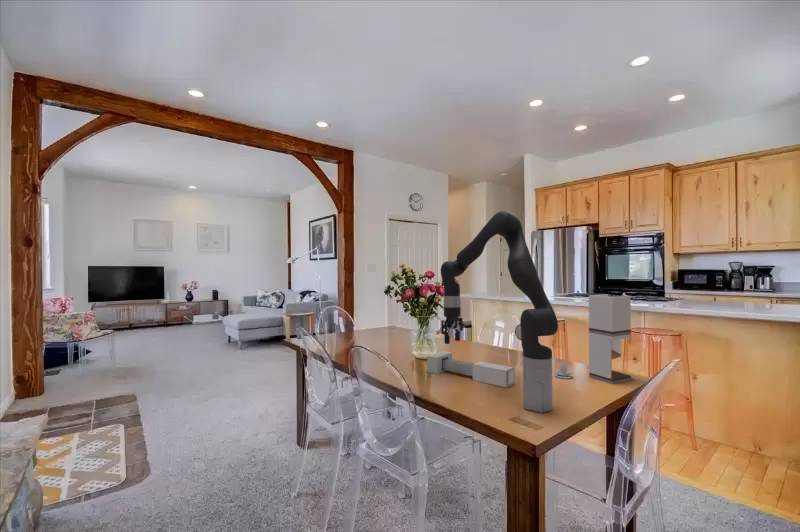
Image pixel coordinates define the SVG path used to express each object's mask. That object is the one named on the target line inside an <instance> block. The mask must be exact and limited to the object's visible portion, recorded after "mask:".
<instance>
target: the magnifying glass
mask: <svg viewBox="0 0 800 532" xmlns="http://www.w3.org/2000/svg"><path fill="white" fill-rule="evenodd" d="M514 334H515V337H516V338H517V339H518V340H519V341H521V325H520V323H519V324H518V325H516V326H515V329H514Z"/></svg>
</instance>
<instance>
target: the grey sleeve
mask: <svg viewBox="0 0 800 532" xmlns="http://www.w3.org/2000/svg"><path fill="white" fill-rule="evenodd" d="M472 381H474V382H475V381H476V382H480V383H484V384H485V383H486V384H489V385H493V386H498V387H502V388H507V389H508V387H509V388H510V387H511V386H513V385H515V367H513V366H509V365H508V366H506V365H503V364H495V363H491V362H486V361H481V360H479V361H477V362H475V363H474V364H473V375H472Z"/></svg>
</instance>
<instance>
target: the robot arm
mask: <svg viewBox="0 0 800 532" xmlns="http://www.w3.org/2000/svg"><path fill="white" fill-rule="evenodd" d="M496 235H499V236H501V237H503V238H504V241H506V244H507V247H508V251H509V252H508V253H509V254H508V257H507V268H508V269H507V270H508V273H509V275H510V278H511V280H512V282H513V284H514V285H515V286H516V287H517V288H518V290H520V291H521V292H522V293H523V294H524V295H525V296H526V298H528V299H529V300H530V301H531V304H532V305H533V307H534V308H528V309H524V310H523V311H522V313H521V315H520V323H519V324H520V325H521V340H520V341H521V347H522V363H523V364H522V367H523V368H522V370H523V371H522V376H523V377H522V378H523V379H522V380H523V381H522V384H523V385H522V387H523V388H522V391H523V393H522V394H523V398H522V399H523V402H522V403H523V409H525V410H528V411H533V412H537V413H540V414H543V413H546V412H551V411H552V410H553V351H552V348H551V347H549V346H548V345H547V346H546V345H544V344H543V345H542V344H541V343H540V342H539V337H548V336H554V335H555V334H556V333H557V332H558V330H559V323H558V318H557V315H556V313H555V311H554V309H553V306H552V304H551V301H550V300H549V298H548V296H547V295H546V292H545V290H544V288H543V285H542V282H541V279H540V277H539V274H538V271H537V268H536V266H535V263H534V260H533V258H532V255H531V253H530V250H529V247H528V245H527V242H526V239H525V234H524V229H523V227H522V223H521V221H520V219H519V218H518V217H517V216H515V215H513V214H511V213H509V212H508V211H506V210H505V211H504V210H501V211H498V212H496V213H495V214H494V215H493V216H492V217H491V218H490V219H489V220H488V221H487V223H486V224H485V225H484V227H482V229H481V230H480V231H479V232H478V233H477V235H476V236H475V237H474V238H473V239H472V241H470V242H469V243H468V244H467V245H466V246H465V247H464V248H462V249H461V250H460V251H459V252H458V253H457V255H456V259H455V260H453V261H452V260H450V261H448V260H447V261H444V262H443V263H442V264H441V267H440V276H441V279H442V284H443V295H444V296H443V316H444V317H445V318H446V319H445V320H443V319H441V327H440V328H441V329H440V330H441V331H440V333H441V334H442V335H443V336H444V340H443V341H444V344H446V345H449V344H450V343H451V341H450V340H451V339H450V337H451V332H452V331H453V330H454V341H455V342H460V341H461V332H462V331H463V330H464V325H463V324H464V323H463V319H464V318H463V317H462V316H461V314H462V310H461V309H462V307H461V301H462V300H461V287H460V283H458V282H456V278H457V277H459V276H461V275H463V274H464V273H465V271H466V270H467V268H468V267H469V266H470V265H471V264H472V263H474V262H475V261H476V260H477V259H479V258H480V256H481V255H482V253H483V252H484V250H485V247H486V244H487V243H488V241H490V239H492V238H494V237H495V236H496Z"/></svg>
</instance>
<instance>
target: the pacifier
mask: <svg viewBox="0 0 800 532" xmlns="http://www.w3.org/2000/svg"><path fill="white" fill-rule="evenodd" d="M559 368H560V370H558V369H554V373H555V375H554V376H555V377H556V378H559V379H563V378H564V379H565V380H567V379H571V378H572V377H571V376H570V375H572V374H574V372H572V371H571V372H567V369H568V364H567V362H565V361H562V362H560V364H559Z"/></svg>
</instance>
